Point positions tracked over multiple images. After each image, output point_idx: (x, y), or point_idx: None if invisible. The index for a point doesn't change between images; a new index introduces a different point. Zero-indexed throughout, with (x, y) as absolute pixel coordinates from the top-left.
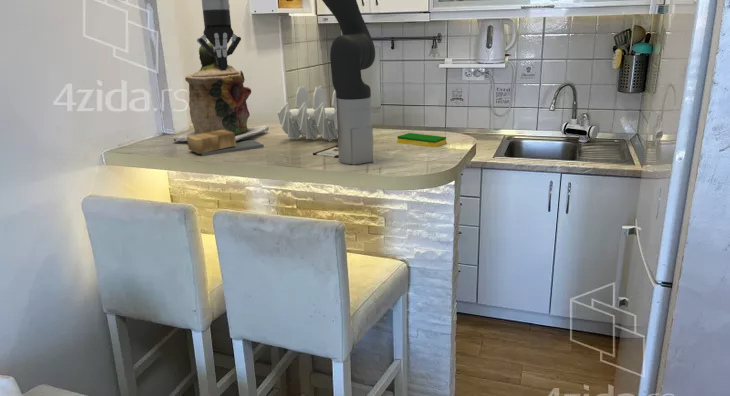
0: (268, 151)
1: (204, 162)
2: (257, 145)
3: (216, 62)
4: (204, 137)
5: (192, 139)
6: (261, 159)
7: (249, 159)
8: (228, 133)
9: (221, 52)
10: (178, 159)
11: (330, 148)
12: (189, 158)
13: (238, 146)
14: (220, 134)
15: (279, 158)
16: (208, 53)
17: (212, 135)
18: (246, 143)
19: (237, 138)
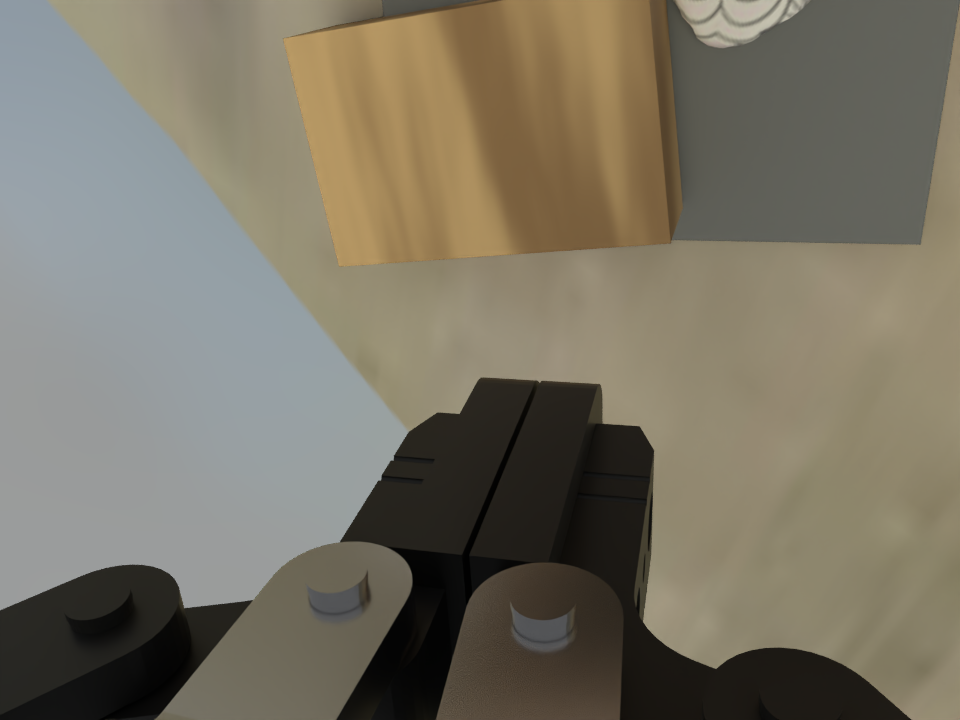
0: (869, 389)
1: (397, 410)
2: (862, 238)
3: (371, 498)
4: (410, 216)
5: (321, 187)
6: (717, 552)
7: (654, 508)
8: (615, 234)
9: (475, 716)
10: (260, 235)
11: None
12: (326, 251)
13: (711, 175)
14: (547, 213)
15: (824, 598)
16: (33, 630)
17: (480, 193)
18: (823, 90)
19: (764, 31)
